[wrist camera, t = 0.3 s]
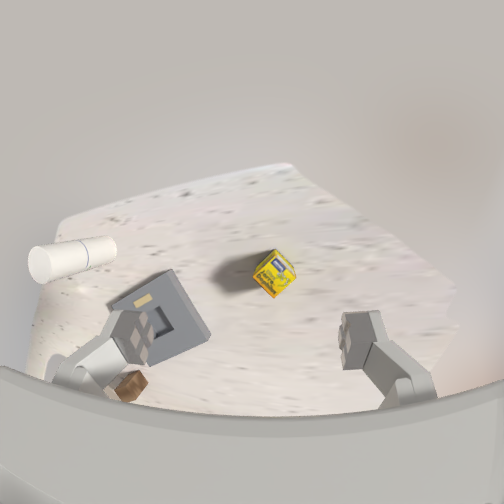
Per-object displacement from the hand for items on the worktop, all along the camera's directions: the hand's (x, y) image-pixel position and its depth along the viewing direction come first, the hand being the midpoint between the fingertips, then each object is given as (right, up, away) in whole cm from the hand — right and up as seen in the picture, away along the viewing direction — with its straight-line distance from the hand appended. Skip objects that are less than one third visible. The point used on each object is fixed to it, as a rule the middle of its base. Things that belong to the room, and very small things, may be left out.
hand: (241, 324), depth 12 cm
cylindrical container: (-37, +3, +57) cm, 68 cm away
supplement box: (+6, 0, +54) cm, 54 cm away
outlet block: (-21, -13, +58) cm, 63 cm away
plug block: (-31, -32, +61) cm, 76 cm away
